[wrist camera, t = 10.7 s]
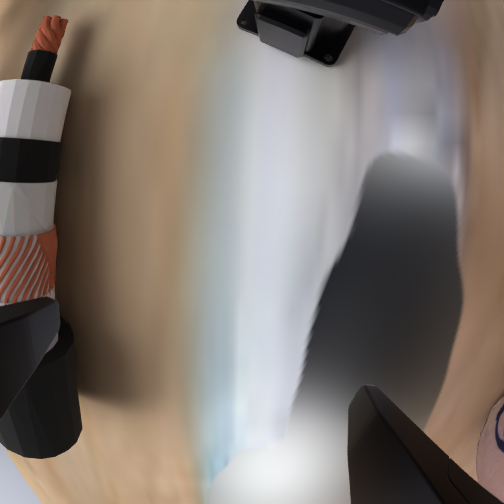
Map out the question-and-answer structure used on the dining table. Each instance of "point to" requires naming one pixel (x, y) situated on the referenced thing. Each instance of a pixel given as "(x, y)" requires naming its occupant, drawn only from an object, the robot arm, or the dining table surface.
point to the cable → (36, 244)
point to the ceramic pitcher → (492, 452)
